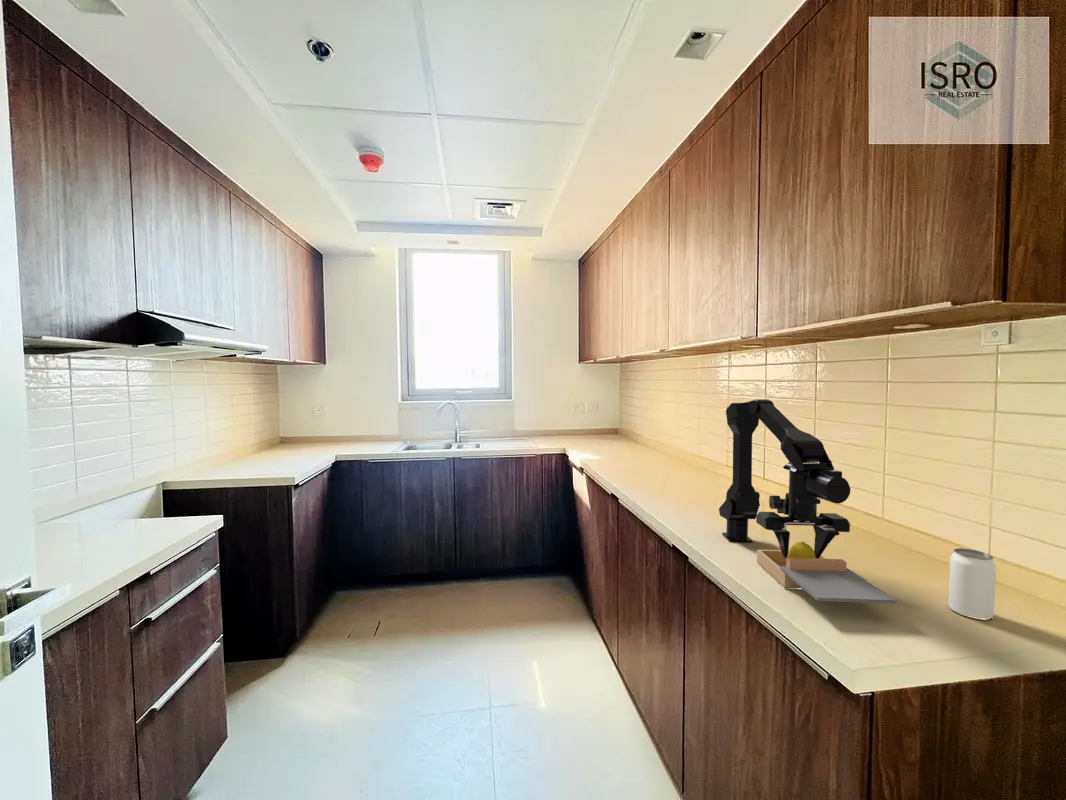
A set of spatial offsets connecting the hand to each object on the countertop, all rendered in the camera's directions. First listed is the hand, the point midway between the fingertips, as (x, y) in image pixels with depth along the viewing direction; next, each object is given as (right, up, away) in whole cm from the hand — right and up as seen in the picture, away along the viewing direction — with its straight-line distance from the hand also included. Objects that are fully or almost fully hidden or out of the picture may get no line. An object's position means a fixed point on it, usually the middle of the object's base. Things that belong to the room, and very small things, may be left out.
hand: (800, 557), depth 106 cm
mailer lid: (-1, -1, -13) cm, 13 cm away
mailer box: (0, -5, 0) cm, 5 cm away
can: (+24, -6, -16) cm, 30 cm away
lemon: (0, -4, 0) cm, 4 cm away
